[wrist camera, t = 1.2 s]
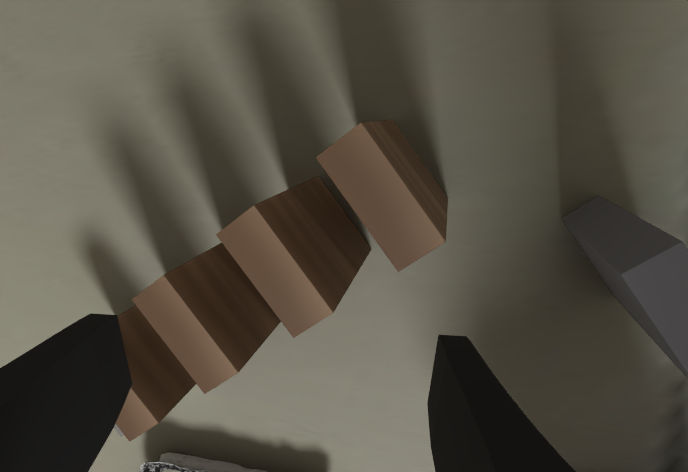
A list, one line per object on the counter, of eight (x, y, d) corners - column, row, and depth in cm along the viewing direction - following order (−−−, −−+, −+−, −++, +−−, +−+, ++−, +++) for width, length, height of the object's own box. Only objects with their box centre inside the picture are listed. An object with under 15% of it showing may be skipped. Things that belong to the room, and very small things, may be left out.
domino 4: (392, 119, 25) (360, 122, 16) (447, 198, 25) (445, 242, 17) (361, 143, 25) (315, 157, 17) (416, 219, 26) (398, 271, 17)
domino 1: (193, 270, 29) (88, 333, 21) (242, 334, 30) (158, 423, 21) (171, 286, 30) (60, 354, 21) (219, 349, 30) (129, 441, 22)
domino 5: (598, 195, 23) (682, 241, 15) (653, 277, 24) (766, 367, 15) (560, 218, 24) (620, 274, 16) (615, 297, 24) (702, 395, 16)
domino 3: (318, 175, 26) (253, 205, 18) (371, 249, 27) (333, 312, 18) (291, 196, 27) (215, 234, 18) (343, 268, 27) (293, 337, 19)
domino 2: (252, 225, 28) (163, 274, 19) (303, 294, 28) (238, 372, 20) (227, 244, 28) (131, 299, 20) (278, 311, 29) (204, 393, 20)
